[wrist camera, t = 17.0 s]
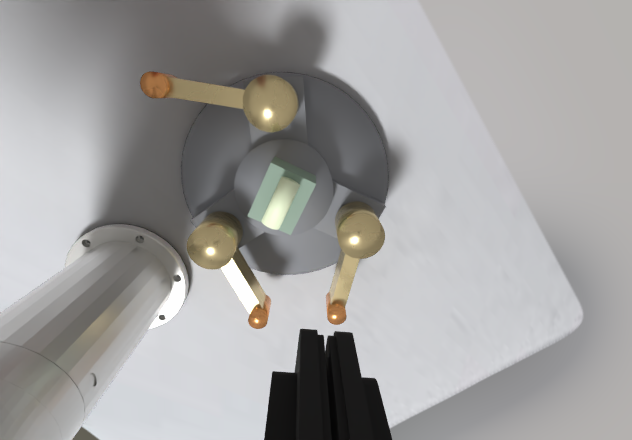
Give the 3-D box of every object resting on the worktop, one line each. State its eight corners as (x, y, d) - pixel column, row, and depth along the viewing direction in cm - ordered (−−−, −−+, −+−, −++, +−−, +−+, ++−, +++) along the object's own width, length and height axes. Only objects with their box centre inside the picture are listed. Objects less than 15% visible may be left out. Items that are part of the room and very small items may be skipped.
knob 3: (340, 197, 31) (344, 211, 27) (381, 206, 31) (390, 221, 28) (314, 299, 35) (314, 323, 31) (350, 305, 35) (355, 330, 32)
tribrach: (330, 296, 38) (335, 343, 30) (158, 226, 34) (119, 260, 27) (425, 134, 31) (459, 145, 24) (226, 29, 28) (198, 6, 21)
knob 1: (301, 82, 27) (300, 79, 24) (295, 130, 29) (293, 136, 25) (160, 58, 27) (136, 52, 23) (161, 109, 28) (138, 111, 24)
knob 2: (193, 221, 32) (177, 238, 28) (230, 204, 31) (218, 219, 27) (250, 312, 35) (242, 338, 32) (283, 299, 35) (280, 323, 31)
